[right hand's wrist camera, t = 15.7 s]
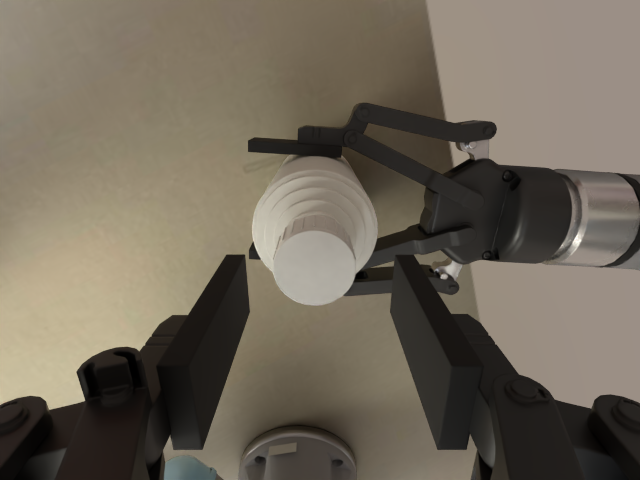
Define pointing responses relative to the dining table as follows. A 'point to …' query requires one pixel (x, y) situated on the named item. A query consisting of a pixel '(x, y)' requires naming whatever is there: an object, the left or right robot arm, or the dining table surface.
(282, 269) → the cap
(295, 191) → the bottle
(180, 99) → the dining table surface
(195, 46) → the dining table surface
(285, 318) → the dining table surface
